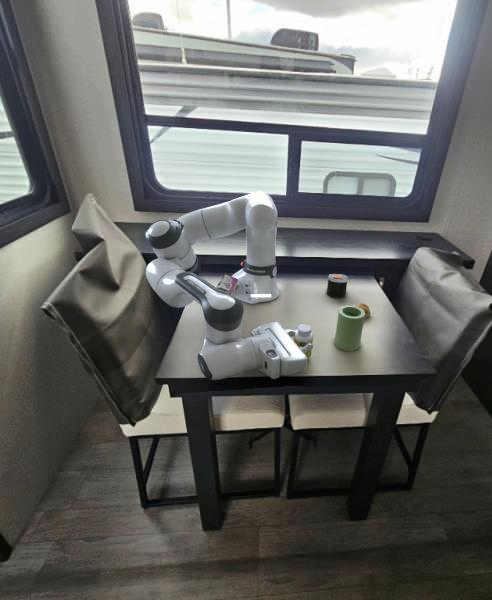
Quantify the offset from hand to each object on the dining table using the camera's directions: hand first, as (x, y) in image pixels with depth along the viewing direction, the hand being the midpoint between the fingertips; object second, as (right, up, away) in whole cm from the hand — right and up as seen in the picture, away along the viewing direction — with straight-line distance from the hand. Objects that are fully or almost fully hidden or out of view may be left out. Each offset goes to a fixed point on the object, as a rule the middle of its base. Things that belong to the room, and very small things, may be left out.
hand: (306, 339), depth 92 cm
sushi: (+13, +14, +41) cm, 45 cm away
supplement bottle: (-1, -5, +3) cm, 6 cm away
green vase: (+13, -3, +10) cm, 17 cm away
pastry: (+20, +5, +26) cm, 33 cm away
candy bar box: (-30, +3, +14) cm, 33 cm away
